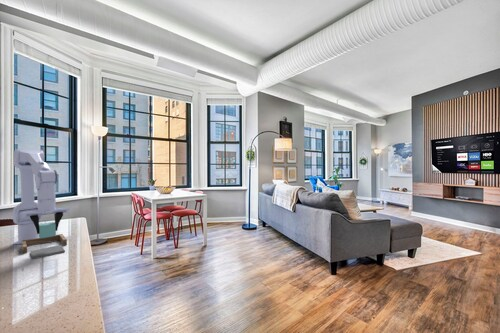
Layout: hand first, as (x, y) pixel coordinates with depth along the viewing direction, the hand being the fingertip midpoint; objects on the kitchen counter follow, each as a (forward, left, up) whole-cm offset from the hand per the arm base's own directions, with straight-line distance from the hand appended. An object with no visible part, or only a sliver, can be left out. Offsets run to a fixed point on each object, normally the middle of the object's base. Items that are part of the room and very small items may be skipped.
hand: (47, 232), depth 99 cm
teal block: (0, 0, -2) cm, 2 cm away
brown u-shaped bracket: (-10, -6, -8) cm, 14 cm away
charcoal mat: (0, 0, -8) cm, 8 cm away
